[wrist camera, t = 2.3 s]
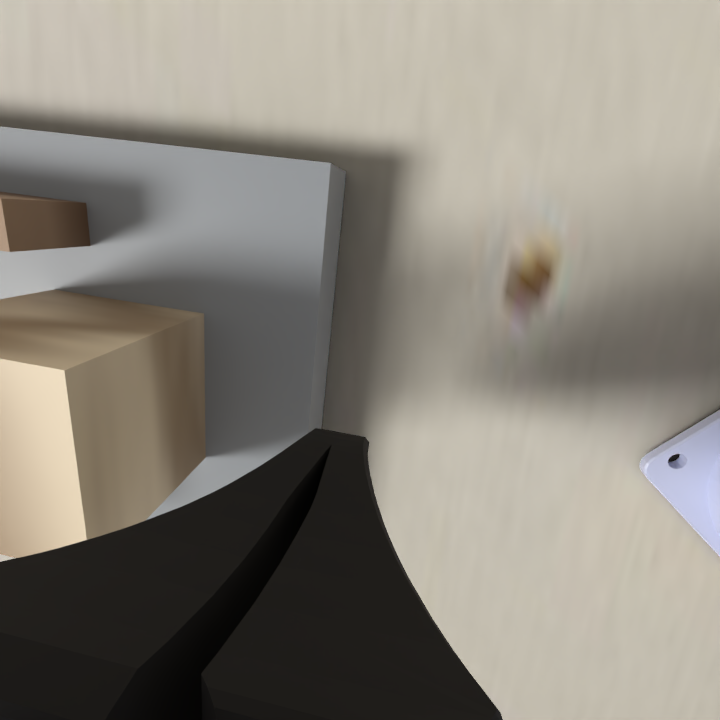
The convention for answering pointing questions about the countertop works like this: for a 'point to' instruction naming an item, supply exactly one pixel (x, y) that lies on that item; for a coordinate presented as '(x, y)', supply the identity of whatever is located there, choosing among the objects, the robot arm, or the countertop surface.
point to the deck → (200, 271)
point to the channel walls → (41, 223)
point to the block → (94, 415)
